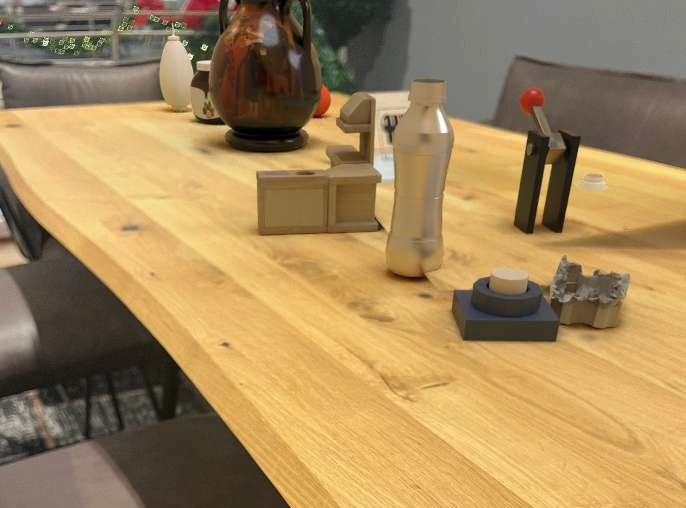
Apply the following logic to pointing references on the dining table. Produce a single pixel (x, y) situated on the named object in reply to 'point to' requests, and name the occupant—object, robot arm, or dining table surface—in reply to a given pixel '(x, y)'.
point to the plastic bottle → (420, 181)
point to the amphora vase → (265, 75)
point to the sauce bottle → (175, 74)
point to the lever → (542, 123)
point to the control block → (504, 314)
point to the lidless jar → (592, 182)
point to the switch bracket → (556, 187)
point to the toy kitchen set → (326, 184)
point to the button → (508, 281)
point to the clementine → (323, 102)
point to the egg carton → (587, 295)
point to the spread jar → (203, 96)
